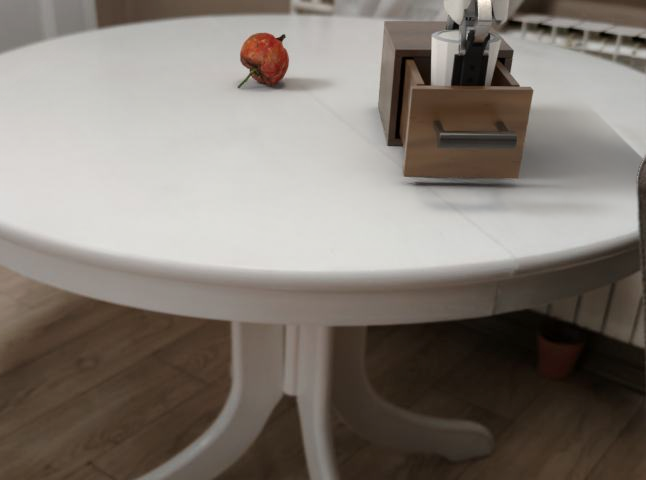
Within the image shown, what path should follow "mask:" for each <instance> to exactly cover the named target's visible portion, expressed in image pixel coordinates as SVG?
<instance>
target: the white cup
mask: <svg viewBox="0 0 646 480" xmlns="http://www.w3.org/2000/svg"><path fill="white" fill-rule="evenodd" d="M469 31H470V30H467V35H466V40H467V36H468V33H469ZM499 35H500V34H499ZM499 35H496V34H494V33H490V48H489V59H488V66H487V73H486V80H485V86H490V85H491V81H492V77H493V73H494V68H495V64H496V60H497V56H498V52H499V47H500V43H501V37H502V36H501V35H500V36H501V37H500V36H499ZM458 43H459V29H458V30H444V31H439V32H435V33H433V34H432V47H431V86H451V79H452V71H453V63H454V54H458Z"/></svg>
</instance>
